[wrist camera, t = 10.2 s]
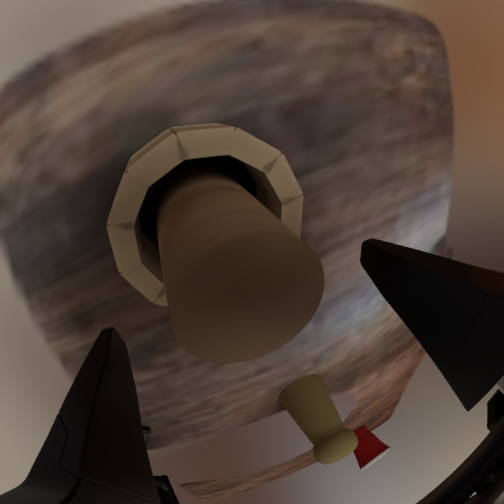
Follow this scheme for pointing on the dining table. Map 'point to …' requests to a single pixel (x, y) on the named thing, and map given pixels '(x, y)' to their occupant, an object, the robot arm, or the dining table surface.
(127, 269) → the wooden ring
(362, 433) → the plastic cup
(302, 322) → the walnut peg
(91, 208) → the dining table surface
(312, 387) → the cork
